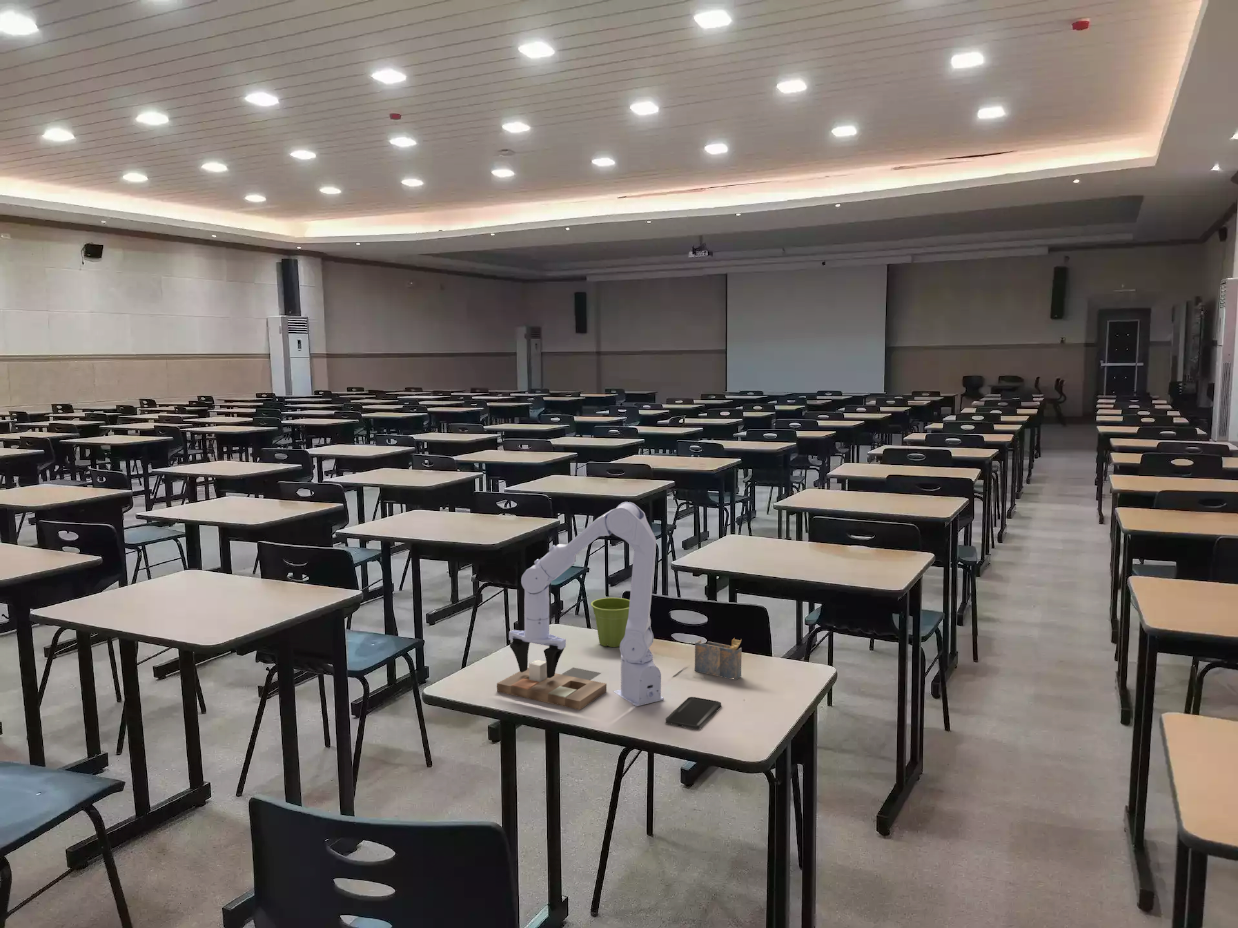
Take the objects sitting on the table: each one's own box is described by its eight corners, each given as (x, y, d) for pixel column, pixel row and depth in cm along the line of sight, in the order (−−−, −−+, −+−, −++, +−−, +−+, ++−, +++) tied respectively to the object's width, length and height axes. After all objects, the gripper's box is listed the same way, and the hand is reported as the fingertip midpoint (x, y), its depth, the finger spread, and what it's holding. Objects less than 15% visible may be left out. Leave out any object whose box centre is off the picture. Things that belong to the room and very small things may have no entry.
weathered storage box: (741, 677, 205) (742, 639, 204) (736, 681, 202) (737, 642, 201) (700, 668, 211) (701, 631, 210) (694, 672, 208) (695, 634, 207)
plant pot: (581, 643, 229) (581, 603, 227) (611, 634, 237) (611, 595, 236) (613, 653, 221) (613, 611, 220) (643, 643, 230) (643, 602, 228)
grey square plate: (601, 675, 205) (601, 672, 205) (584, 685, 198) (584, 683, 198) (573, 669, 208) (573, 667, 208) (555, 679, 201) (555, 677, 201)
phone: (722, 702, 187) (698, 726, 173) (722, 706, 187) (698, 731, 173) (689, 695, 190) (663, 719, 177) (689, 700, 190) (663, 724, 177)
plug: (547, 686, 197) (547, 661, 196) (539, 690, 194) (539, 665, 194) (536, 684, 198) (536, 659, 198) (529, 688, 196) (529, 663, 195)
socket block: (606, 693, 193) (606, 682, 192) (579, 712, 182) (579, 700, 182) (526, 677, 203) (526, 666, 203) (497, 693, 192) (496, 682, 192)
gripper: (572, 616, 194) (572, 673, 196) (520, 608, 201) (521, 663, 203) (556, 624, 188) (556, 683, 190) (503, 615, 195) (503, 672, 197)
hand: (537, 673), depth 196 cm, fingers open, 7 cm apart
